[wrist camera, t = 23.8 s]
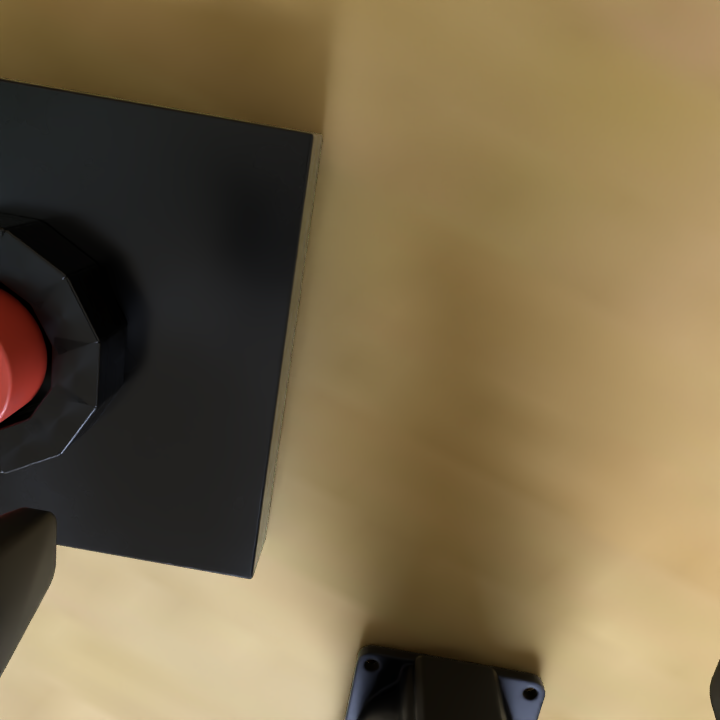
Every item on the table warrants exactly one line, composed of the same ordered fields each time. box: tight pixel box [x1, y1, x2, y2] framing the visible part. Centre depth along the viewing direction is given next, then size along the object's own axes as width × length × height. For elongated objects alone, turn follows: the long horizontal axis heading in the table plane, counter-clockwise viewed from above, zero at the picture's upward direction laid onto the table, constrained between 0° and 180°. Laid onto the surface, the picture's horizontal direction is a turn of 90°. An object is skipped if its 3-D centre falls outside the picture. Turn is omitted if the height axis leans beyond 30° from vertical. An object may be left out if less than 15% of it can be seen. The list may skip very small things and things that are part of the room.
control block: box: [0, 77, 323, 579], centre depth 19 cm, size 13×11×4 cm
